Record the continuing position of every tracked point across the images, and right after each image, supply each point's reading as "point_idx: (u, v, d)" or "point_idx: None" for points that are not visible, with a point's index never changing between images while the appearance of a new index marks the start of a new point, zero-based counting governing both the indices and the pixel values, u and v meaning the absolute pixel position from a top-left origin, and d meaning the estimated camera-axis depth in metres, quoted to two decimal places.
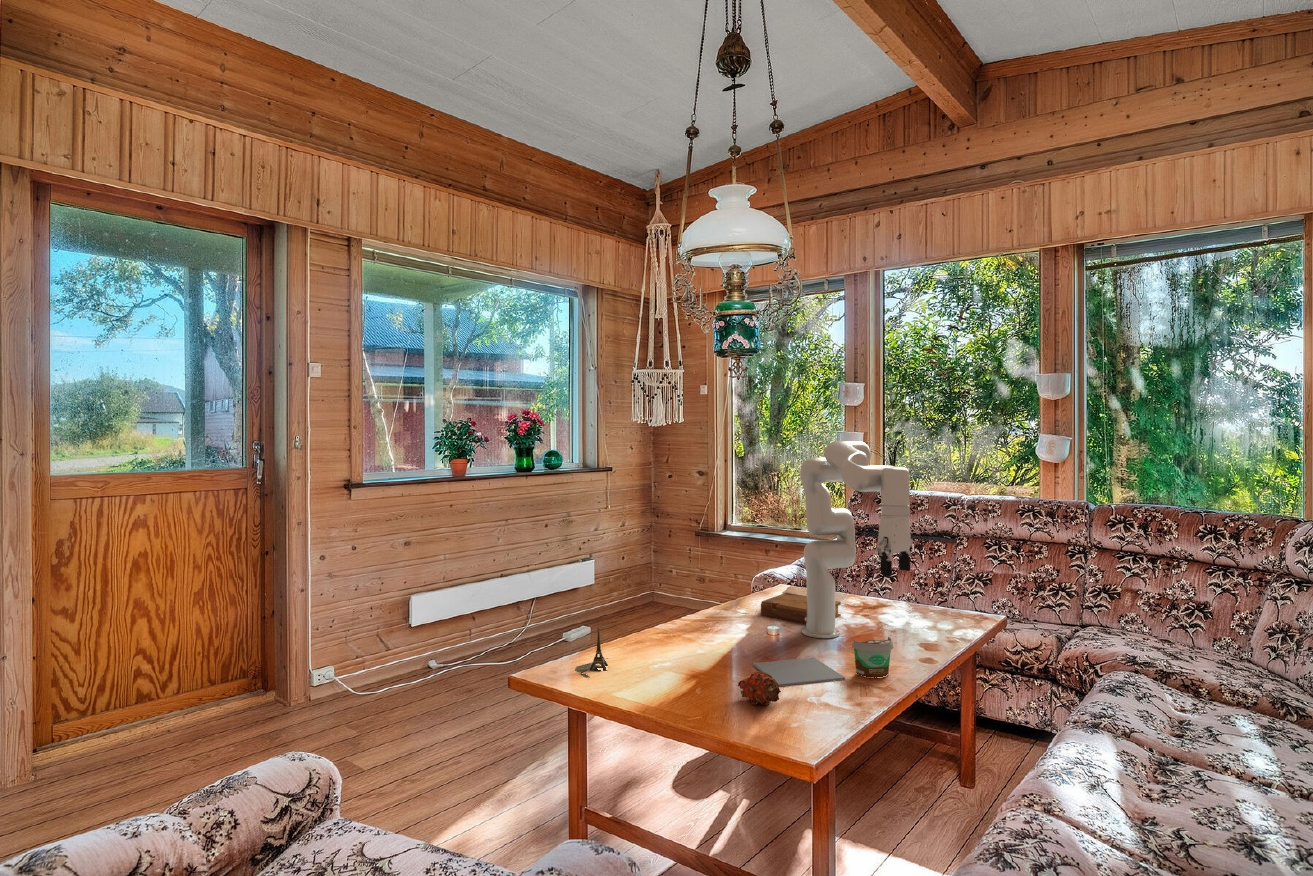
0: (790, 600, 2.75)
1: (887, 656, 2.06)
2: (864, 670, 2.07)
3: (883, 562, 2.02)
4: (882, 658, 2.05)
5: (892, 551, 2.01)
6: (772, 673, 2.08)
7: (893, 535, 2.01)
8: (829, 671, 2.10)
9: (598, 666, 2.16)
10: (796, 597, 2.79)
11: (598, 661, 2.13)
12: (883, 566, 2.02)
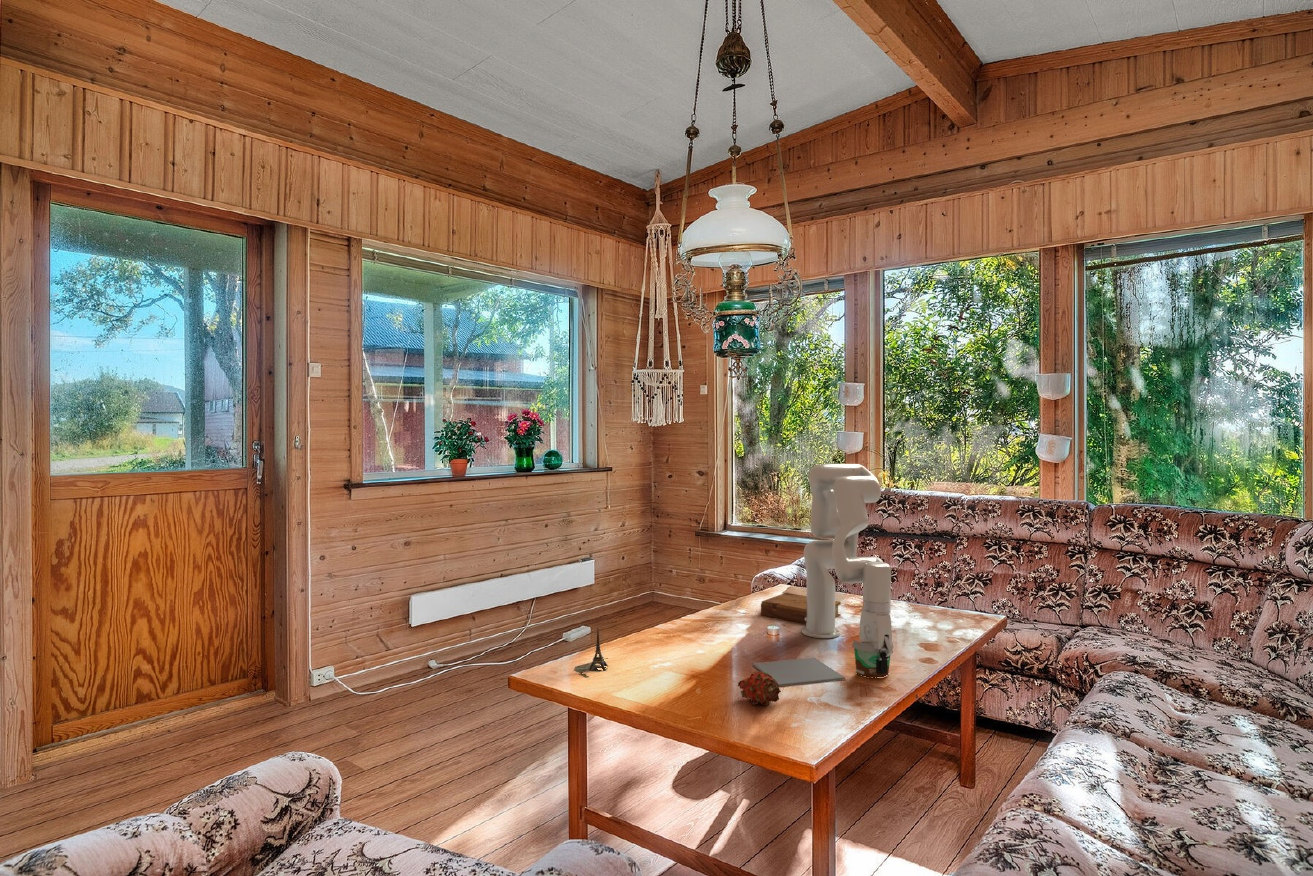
0: (790, 600, 2.75)
1: None
2: (864, 670, 2.06)
3: (883, 662, 2.04)
4: None
5: None
6: (772, 673, 2.08)
7: None
8: (829, 671, 2.10)
9: (597, 666, 2.16)
10: (796, 597, 2.79)
11: (597, 661, 2.13)
12: (883, 666, 2.04)
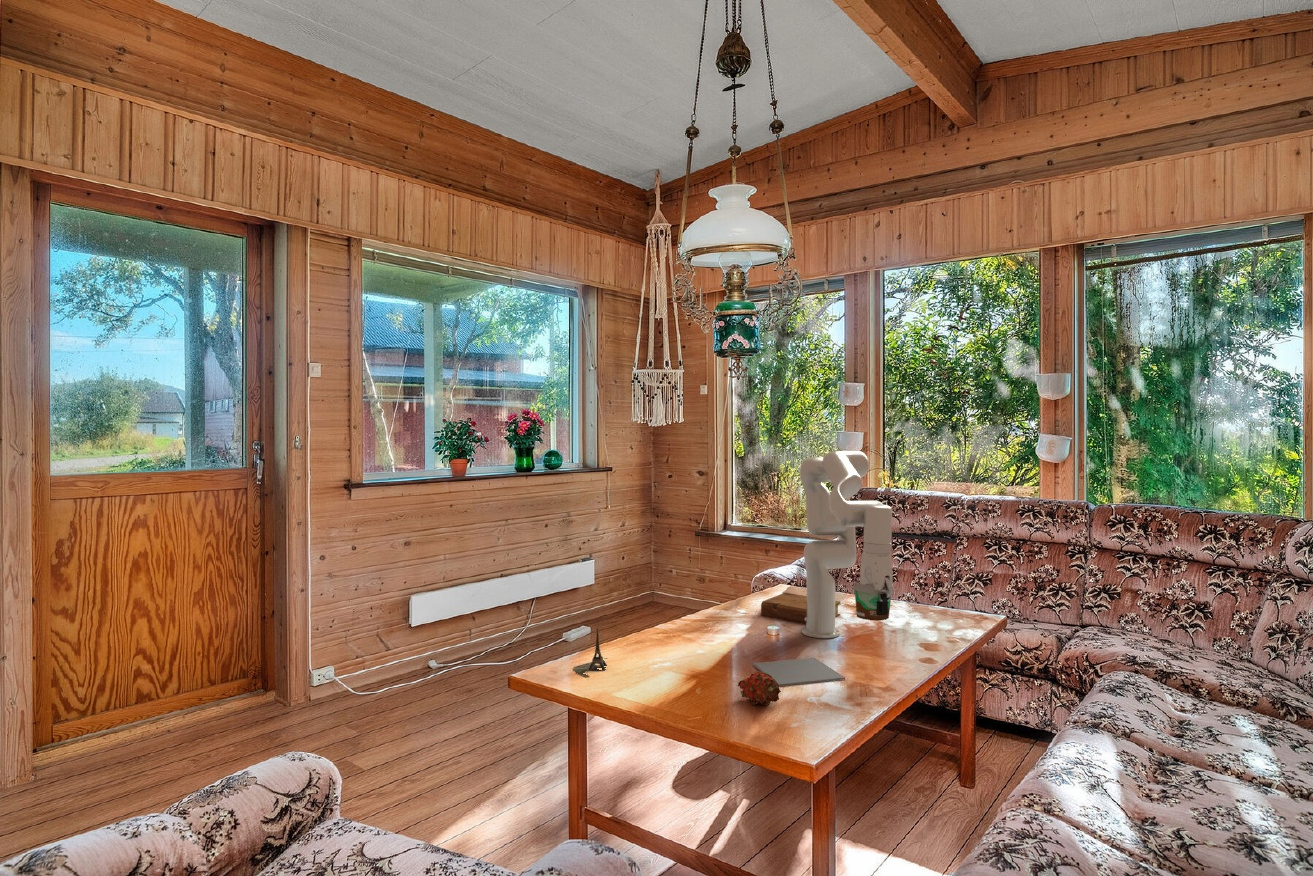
0: (790, 600, 2.74)
1: None
2: (865, 612, 2.06)
3: (883, 603, 2.04)
4: None
5: None
6: (772, 673, 2.08)
7: None
8: (829, 671, 2.10)
9: (597, 666, 2.16)
10: (795, 597, 2.79)
11: (597, 661, 2.13)
12: (883, 607, 2.04)
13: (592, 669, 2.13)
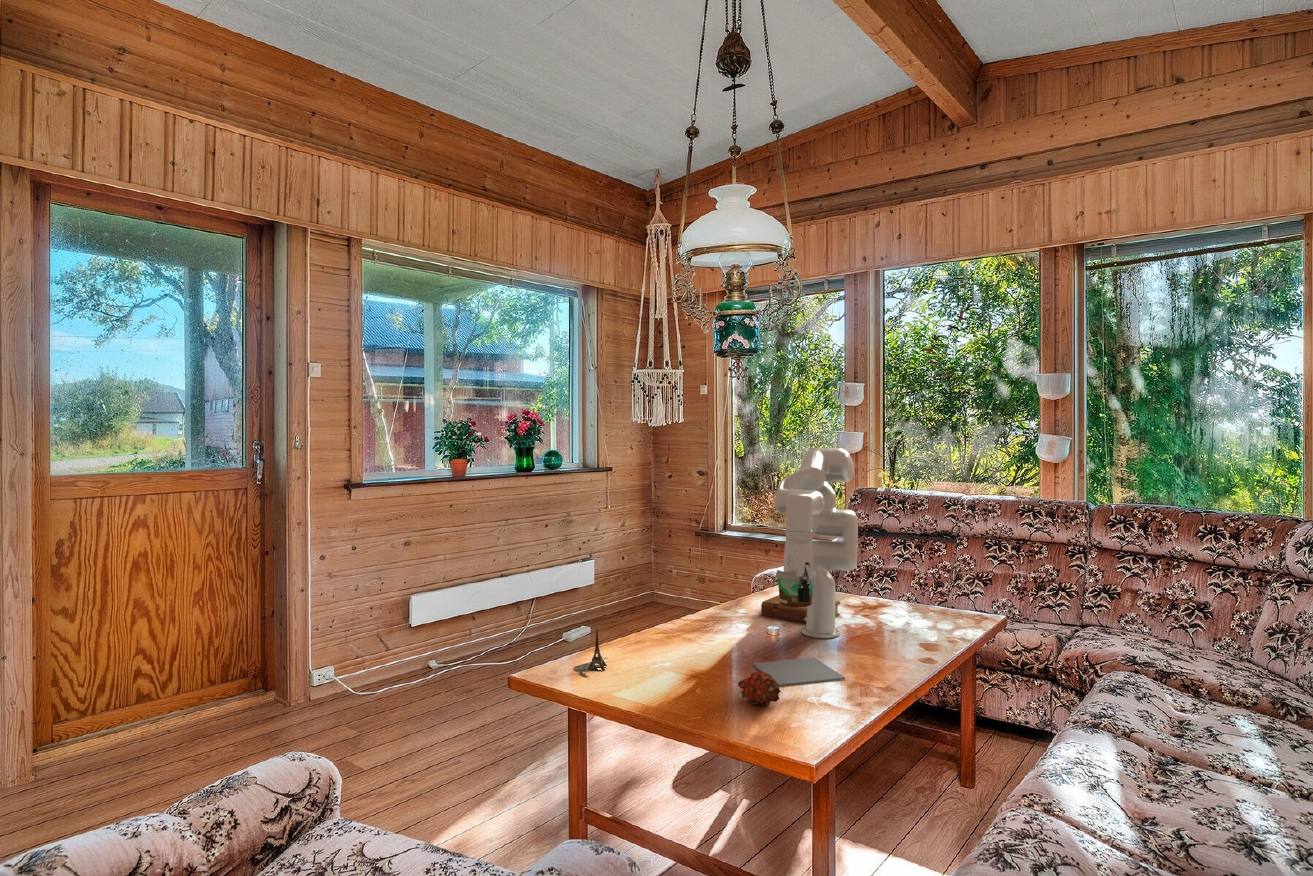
0: None
1: None
2: (787, 598, 2.09)
3: (804, 590, 2.07)
4: None
5: (811, 575, 2.06)
6: (772, 673, 2.08)
7: (812, 559, 2.07)
8: (829, 671, 2.10)
9: (596, 666, 2.16)
10: None
11: (596, 661, 2.13)
12: (804, 594, 2.07)
13: (592, 669, 2.13)
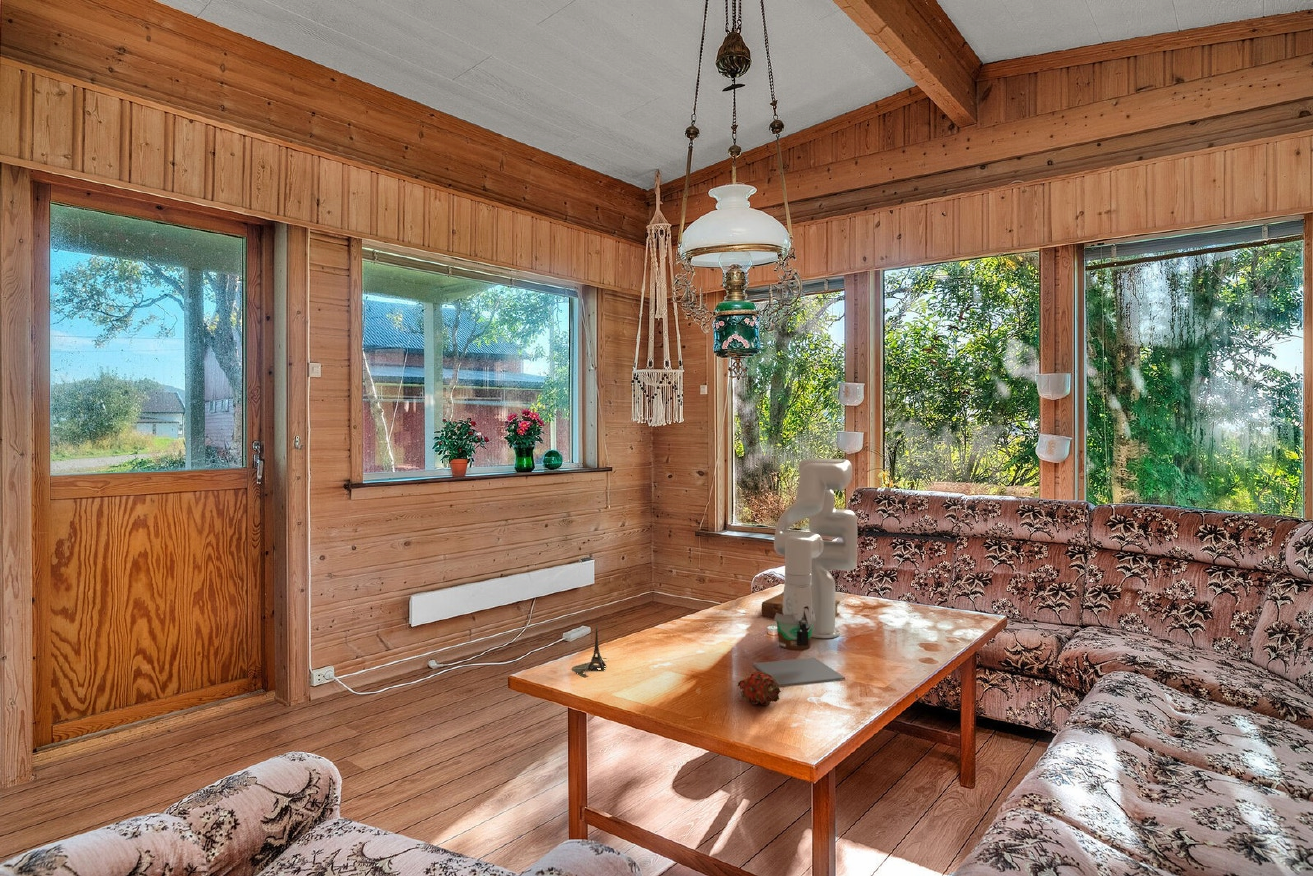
0: None
1: None
2: (786, 642, 2.09)
3: (803, 634, 2.07)
4: None
5: (810, 619, 2.07)
6: (772, 673, 2.08)
7: (811, 603, 2.07)
8: (829, 671, 2.10)
9: (596, 666, 2.16)
10: None
11: (596, 661, 2.13)
12: (803, 638, 2.07)
13: (591, 669, 2.13)
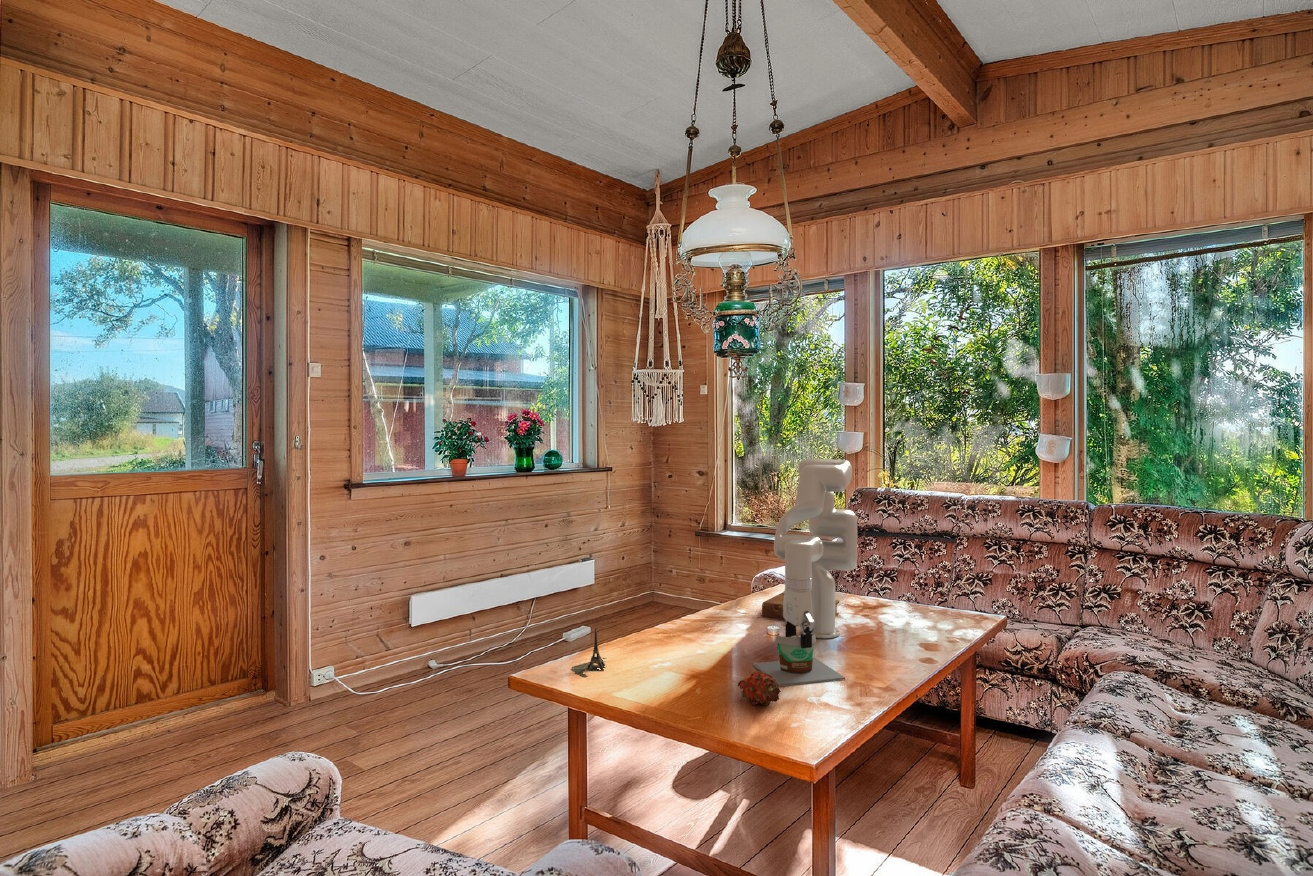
0: None
1: (809, 650, 2.09)
2: (787, 664, 2.09)
3: (807, 636, 2.06)
4: (805, 652, 2.08)
5: None
6: (772, 673, 2.08)
7: (811, 607, 2.07)
8: (829, 671, 2.10)
9: (595, 666, 2.16)
10: None
11: (595, 661, 2.13)
12: (807, 640, 2.06)
13: (590, 669, 2.13)
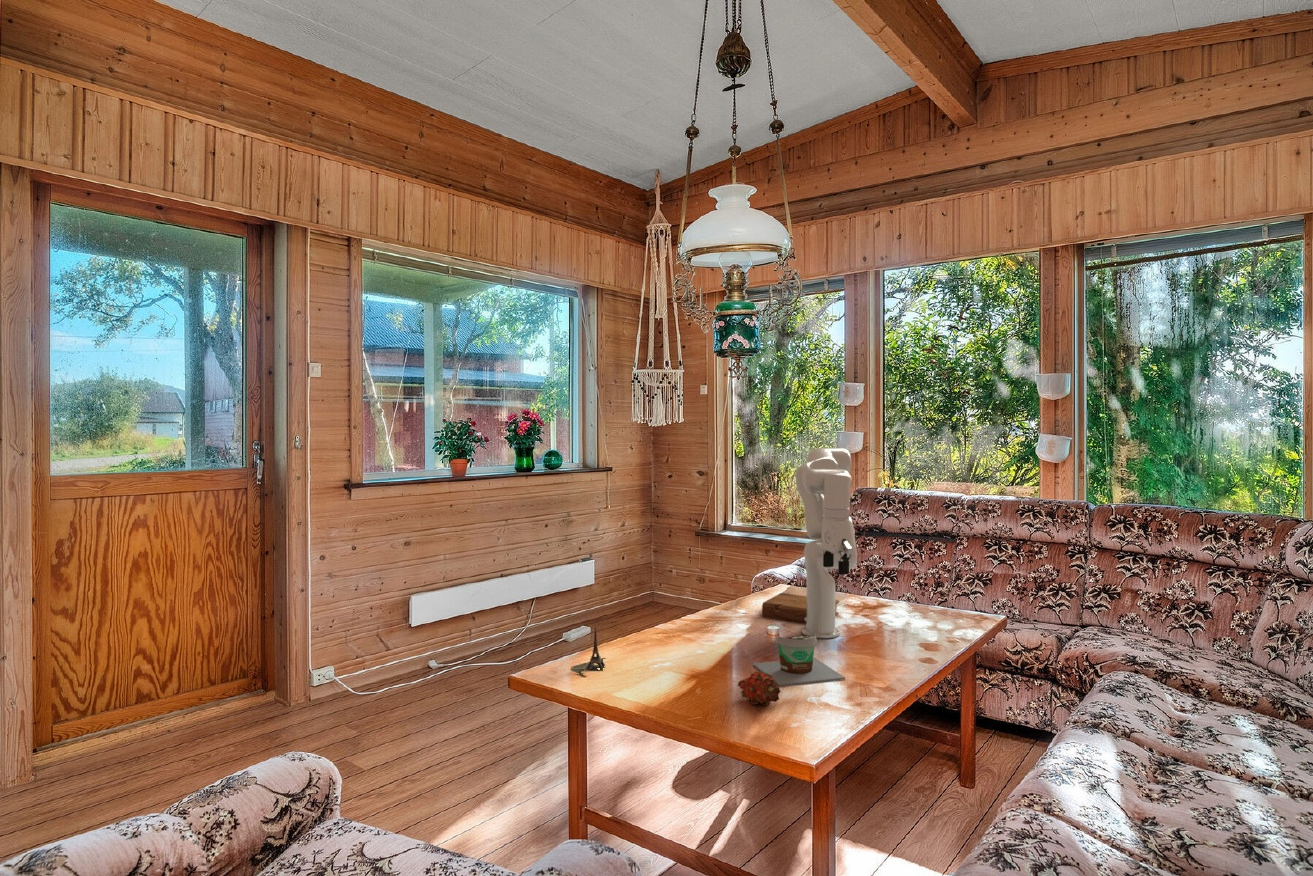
0: (790, 600, 2.74)
1: (810, 651, 2.08)
2: (787, 665, 2.09)
3: (844, 563, 2.14)
4: (805, 654, 2.07)
5: None
6: (772, 673, 2.08)
7: (849, 535, 2.16)
8: (829, 671, 2.10)
9: (595, 666, 2.16)
10: (793, 597, 2.79)
11: (595, 661, 2.13)
12: (844, 566, 2.14)
13: (590, 669, 2.13)
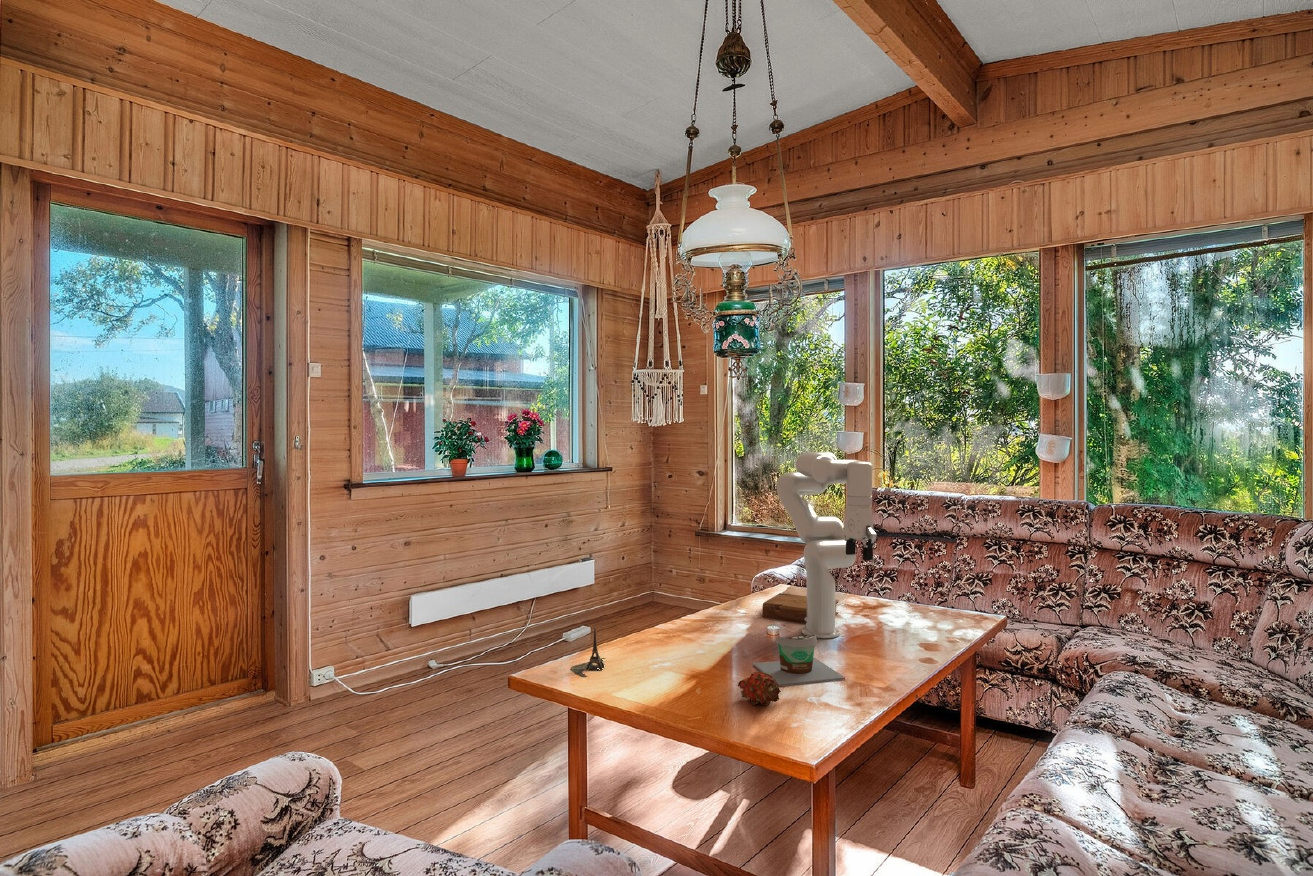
0: (790, 600, 2.74)
1: (810, 651, 2.08)
2: (787, 665, 2.09)
3: (868, 549, 2.20)
4: (805, 654, 2.07)
5: None
6: (772, 673, 2.08)
7: None
8: (829, 671, 2.10)
9: (594, 665, 2.16)
10: (793, 597, 2.79)
11: (594, 660, 2.13)
12: (868, 552, 2.20)
13: (589, 669, 2.13)
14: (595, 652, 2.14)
